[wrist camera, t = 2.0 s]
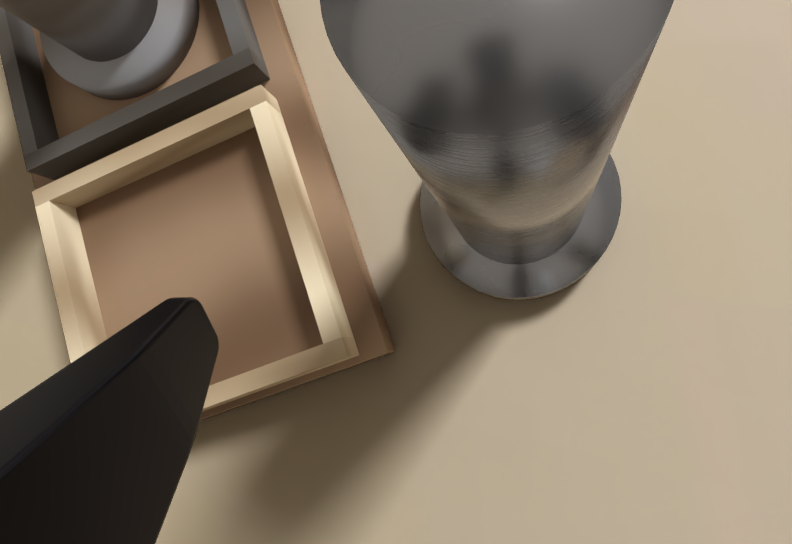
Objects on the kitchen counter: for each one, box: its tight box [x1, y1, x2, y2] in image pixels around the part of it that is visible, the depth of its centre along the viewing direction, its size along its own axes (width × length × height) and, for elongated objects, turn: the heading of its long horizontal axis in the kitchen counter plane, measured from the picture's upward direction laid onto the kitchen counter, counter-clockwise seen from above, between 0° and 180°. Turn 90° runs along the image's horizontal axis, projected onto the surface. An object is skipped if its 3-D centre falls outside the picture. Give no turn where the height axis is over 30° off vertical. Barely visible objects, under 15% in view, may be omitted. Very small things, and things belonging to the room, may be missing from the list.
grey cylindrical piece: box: [320, 0, 674, 300], centre depth 12 cm, size 6×6×12 cm
